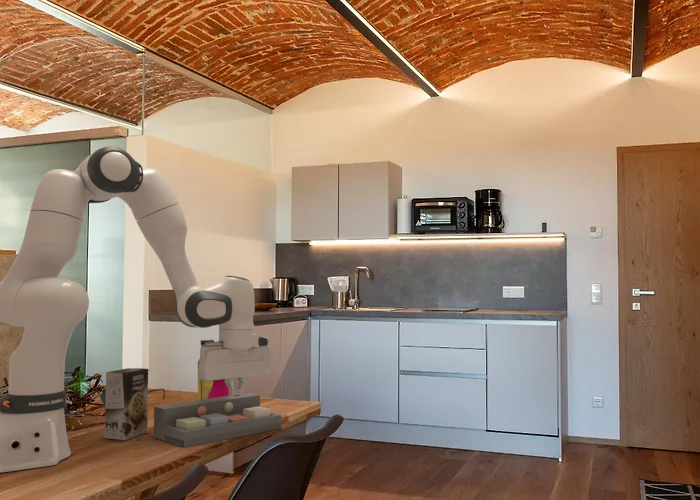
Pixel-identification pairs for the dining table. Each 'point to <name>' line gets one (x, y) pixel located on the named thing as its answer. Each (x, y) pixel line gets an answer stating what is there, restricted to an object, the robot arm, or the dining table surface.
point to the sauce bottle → (204, 385)
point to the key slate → (215, 419)
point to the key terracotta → (237, 418)
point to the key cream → (256, 412)
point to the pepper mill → (218, 389)
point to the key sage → (190, 423)
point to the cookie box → (126, 403)
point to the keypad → (221, 405)
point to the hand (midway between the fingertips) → (235, 395)
